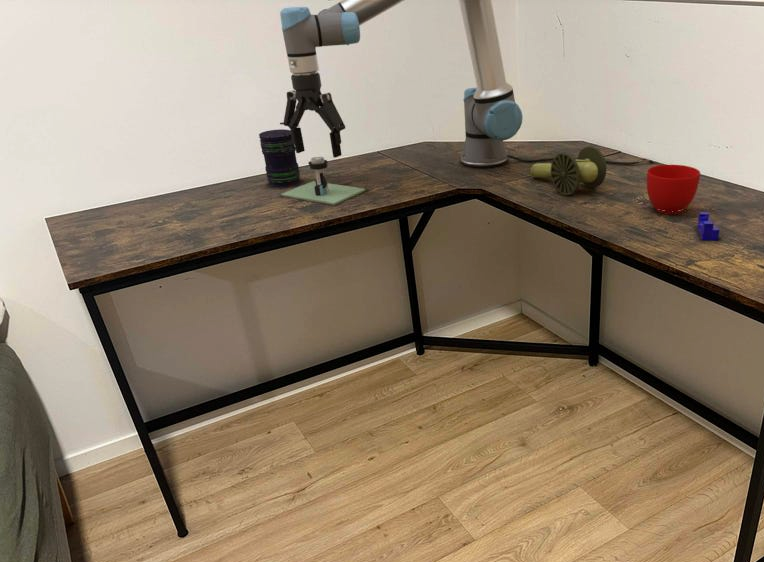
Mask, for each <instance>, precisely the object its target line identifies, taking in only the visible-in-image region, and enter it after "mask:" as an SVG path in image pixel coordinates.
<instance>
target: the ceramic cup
mask: <svg viewBox="0 0 764 562" xmlns="http://www.w3.org/2000/svg"><path fill="white" fill-rule="evenodd" d="M700 178H701V172H700V170H699V169H697V168H695V167H692V166H689V165H683V164H660V165H655V166H651V167H649V168H648V169H647V171H646V191H647V196H648V199H649V201H650V203H651V205H652V206H653V207H654V209H655V210H656V212H658V213H660V214H664V215H679V214H680V213H682V212H683V211H684V210H685V209H686V208H687V207H688V206H690V204H691V203H692V202H693V200H694V199H695V195H696V193H697V191H698V187H699V183H700ZM656 208H657V209H656ZM658 209H660V210H658ZM682 209H683V210H682ZM662 210H665V211H662ZM678 210H681V211H678ZM672 211H673V212H672Z"/></svg>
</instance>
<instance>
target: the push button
mask: <svg viewBox="0 0 764 562" xmlns="http://www.w3.org/2000/svg"><path fill="white" fill-rule="evenodd" d="M328 163H329V162H328V160H327V159H325V158H324V157H323V156H314V157H311V158H310V161H308V166H309V169H310V170H312V171H314V173H315V177H316V178H315V180H314V181H315V182H316V186H315V187H314V188H315V194H316V196H323V195H324V194H326V193H328V188H329V187H328V183H329V182H328V181H327V179H326V178H325V173H324V170H325V169H327V168H328Z"/></svg>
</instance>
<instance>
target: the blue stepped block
mask: <svg viewBox="0 0 764 562" xmlns="http://www.w3.org/2000/svg"><path fill="white" fill-rule="evenodd" d="M697 218H698V219H697V227H696V229H697V231H698V234H699V236H700V238H701V240H702V241H719V236H720V228H719V227H718V226H715V224H714V221H710V220H709V219H710V213H709V212H708V211H699V212H698V217H697ZM698 224H699V225H698ZM700 230H701V231H700Z"/></svg>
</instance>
